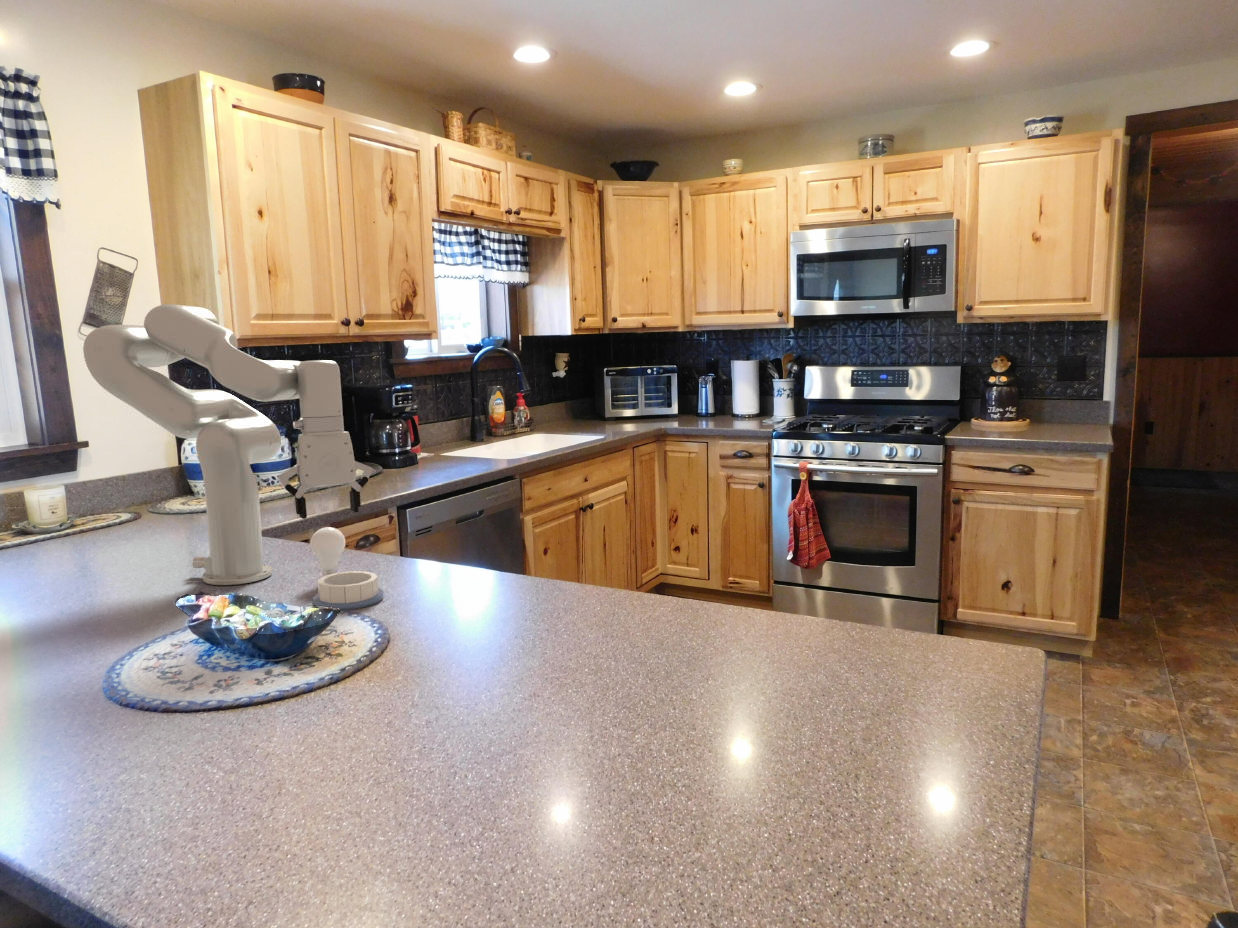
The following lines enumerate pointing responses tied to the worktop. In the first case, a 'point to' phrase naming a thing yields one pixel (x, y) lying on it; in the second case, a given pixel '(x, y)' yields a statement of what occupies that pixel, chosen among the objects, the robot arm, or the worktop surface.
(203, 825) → the worktop surface
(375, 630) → the worktop surface
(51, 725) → the worktop surface
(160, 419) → the robot arm
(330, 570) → the lightbulb
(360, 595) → the holder
